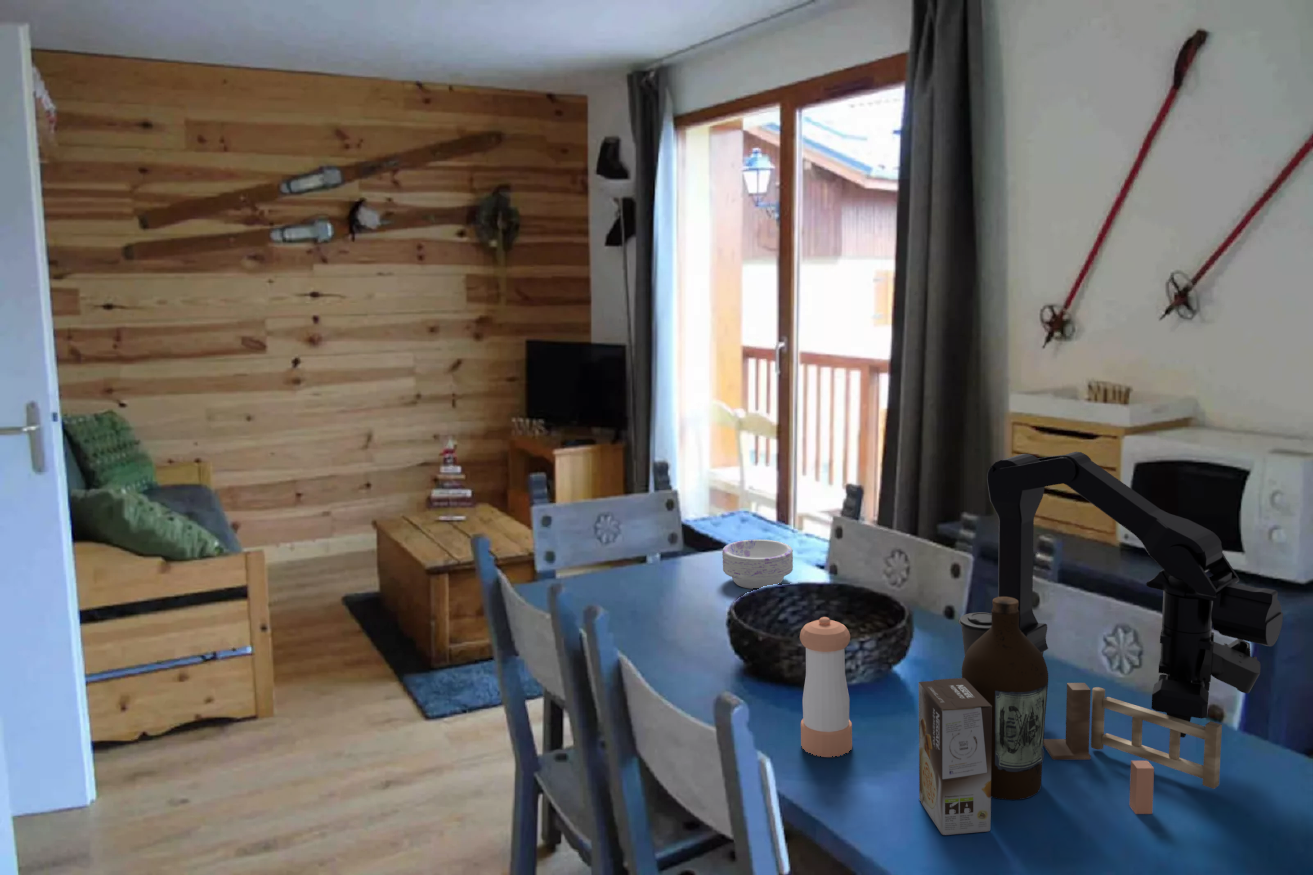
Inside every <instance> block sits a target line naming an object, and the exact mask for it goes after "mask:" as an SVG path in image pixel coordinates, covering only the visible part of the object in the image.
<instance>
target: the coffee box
mask: <svg viewBox="0 0 1313 875" xmlns="http://www.w3.org/2000/svg"><path fill="white" fill-rule="evenodd" d="M991 734H992V706H991V705H990V703H988V702H987V700H986V699H985V698H984V697H983V696H982V695H981V694H980V693H979V692H978V691H977V690H976V689H975V688H974V687H973V686H972V685H971V684H970V683H969V682H968V681H967V680H966V679H965V678H962V677H959V678H956V677H955V678H941V679H933V680H926V681H919V682H918V760H919V761H918V769H919V770H918V771H919V772H918V774H919V775H918V776H919V779H918V780H919V782H918V784H919V785H918V787H919V793H918V794H919V795H918V796H919V797H918V800H919V799H920V800H919V802H920V801H921V802H920V803H921V805H922V806H923V808H924V809H925V811H926V813H927V814H928V816H929V817H930V819H931V821H932V822H933V823H934V825H935V826H936V827H937V829H938V831H939V832H940V834H941V835H943V836H950V835H952V836H953V835H962V834H973V833H987V832H990V831H991V824H992V823H991V821H992V820H991V818H992V817H991V816H992V813H991V812H992V797H991Z"/></svg>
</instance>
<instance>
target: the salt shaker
mask: <svg viewBox="0 0 1313 875" xmlns="http://www.w3.org/2000/svg"><path fill="white" fill-rule="evenodd" d="M799 640H800V642H801V644H802V646H803V647H804V648H805V680H804V686H803V694H802V717H803V718H802V719H801V721H800V747H801V746H802V747H801V749H802V750H803V749H804V750H805V751H804V750H803V751H804V752H806V753H807V752H808V753H807V754H809V753H811V754H810V755H812V754H813V755H812V756H816V755H817V756H816V757H820V756H821V758H836V757H835V756H837V757H840V755H841V756H844V755H843V754H845V753H847V754H849V753H850V752H851V751H850V750H852V749H853V723H852V721H851V720H850V695H849V690H848V683H847V677H846V665H845V664H846V663H845V662H846V661H845V656H846V654H845V649H846V648H847V646H848V645H849V643H850V641H851V634H850V631H849V629H848V628H847V627H846V626H845V625H844V624H843V623H841V622H839V621H835V620H832V619H830V617H827V616H822V617H820V618H819V619H816V620H812V621H811V622H807V623H806V624H805V625H803V627H802V628H801V630H800V634H799ZM849 751H850V752H849ZM845 755H846V754H845ZM832 756H833V757H832Z"/></svg>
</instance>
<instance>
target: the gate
mask: <svg viewBox="0 0 1313 875" xmlns="http://www.w3.org/2000/svg"><path fill="white" fill-rule="evenodd" d="M1091 692H1092V694H1091V696H1092V697H1091V723H1090V725H1091V729H1090V731H1091V732H1090V748H1091V749H1094V750H1103V749H1104V746H1107V747H1110V748H1112V749H1115V750H1118V751H1121V752H1124V753H1127V754H1130V755H1133V756H1137V757H1138V758H1141V759H1144V760H1146V761H1150V762H1153V763H1156V764H1159V765H1161V766H1165V767H1168V768H1170V769H1172V770H1176V771H1179V772H1183V773H1185V774H1187V775H1191V776H1193V777H1197V778H1199V779H1202V786H1204V787H1208V788H1210V789H1213V790H1214V789H1216V788H1217V787H1219V786H1220V775H1221V774H1220V773H1221V772H1220V770H1221V755H1222V754H1221V753H1222V752H1221V751H1222V750H1221V749H1222V734H1223V733H1222V731H1223V725H1222V724H1221V723H1219V722H1215V721H1211V720H1210V721H1208V722H1206V724H1204V725H1201V724H1198V723H1194V722H1191V721H1190V722H1188V721H1185V720H1182V719H1179V718H1175V717H1172V716H1169V715H1167V714H1165V713H1163V712H1159V711H1155V710H1153V709H1149V708H1146V707H1143V706H1141V705H1140V706H1139V705H1135V704H1133V703H1129V702H1125V701H1123V700H1120V699H1116V698H1113V697H1110V696H1107V697H1106V689H1105V688H1102V687H1099V686H1096V687H1093V688H1092V691H1091ZM1105 709H1107V710H1110V711H1113V712H1116V713H1120V714H1122V715H1125V716H1128V717H1132V719H1131V720H1132V721H1131V740H1129V739H1126V738H1122V737H1120V736H1116V735H1114V734H1111V733H1107V732H1106V733H1105ZM1143 721H1144V722H1147V723H1150V724H1154V725H1156V726H1157V725H1158V726H1160V727H1163V728H1167V729H1169V745H1168V747H1169V749H1168V753H1167V752H1165V751H1161V750H1158V749H1156V748H1152V747H1149V746H1146V745H1143V742H1142V741H1143V725H1144V724H1143ZM1181 732H1182V733H1185V734H1186V735H1188V736H1192V737H1195V738H1199V739H1201V740H1204V749H1203V764H1200V763H1197V762H1194V761H1192V760H1188V759H1185V758H1183V757H1180V756H1181V755H1180V754H1181V737H1180V734H1181Z"/></svg>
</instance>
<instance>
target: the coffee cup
mask: <svg viewBox="0 0 1313 875" xmlns="http://www.w3.org/2000/svg"><path fill="white" fill-rule="evenodd" d="M957 623H958V624H959V625H960V626H961V635H962V643H963V644H962V645H963V653H964V656H965V655H966V652H967V650H968V649H969V648H970V646H971V645H972V644H973V643H974V642H975V641H977V640H978V639H979V638H980V637H981V636H982V635H983V634H984V633H986V632H987V631H988V630H989V629H990V628H991V626H992V612H990V613H989V612H970V613H966V614H963V615H962V616H960V618H959V619H958V622H957Z"/></svg>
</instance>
